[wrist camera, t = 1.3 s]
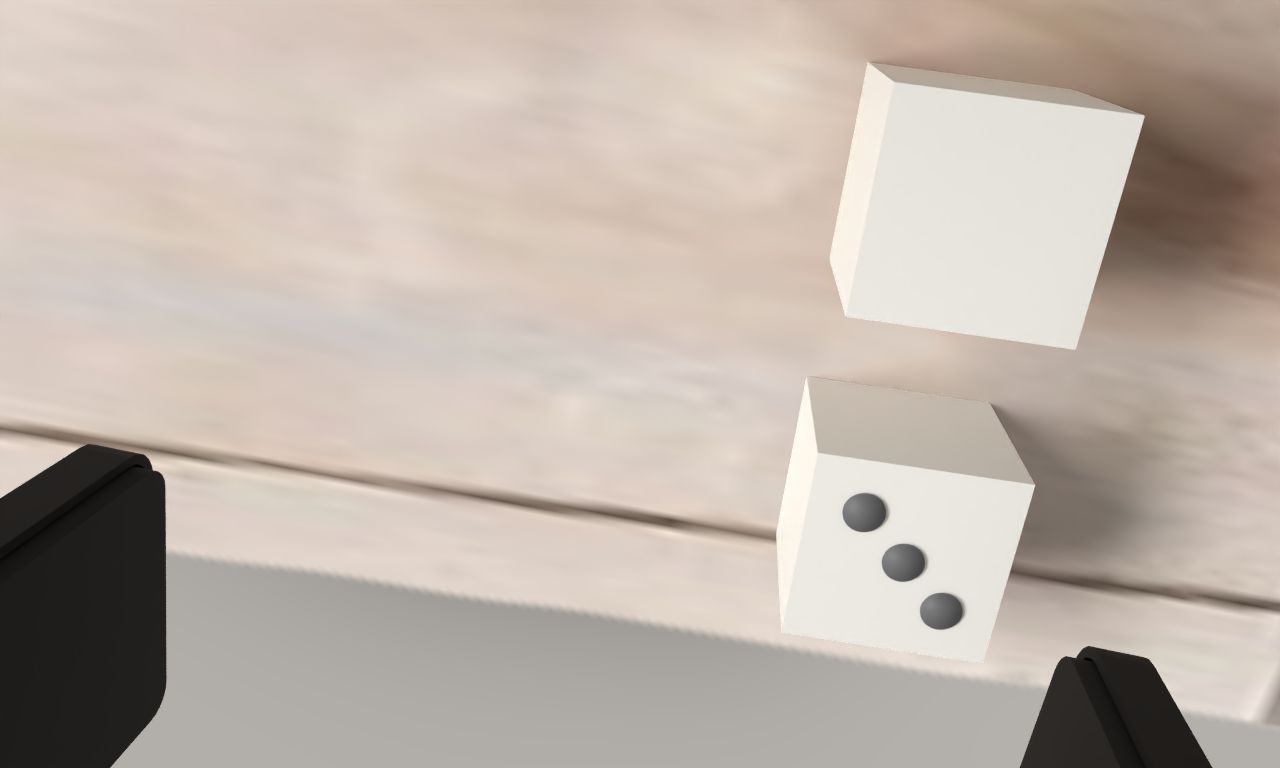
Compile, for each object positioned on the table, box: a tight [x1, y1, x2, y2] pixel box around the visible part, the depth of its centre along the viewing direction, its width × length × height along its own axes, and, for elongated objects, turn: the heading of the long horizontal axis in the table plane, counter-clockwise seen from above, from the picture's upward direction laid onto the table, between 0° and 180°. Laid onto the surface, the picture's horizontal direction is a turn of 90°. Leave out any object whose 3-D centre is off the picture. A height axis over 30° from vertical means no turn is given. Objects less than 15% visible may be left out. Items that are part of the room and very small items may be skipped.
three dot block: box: [776, 376, 1035, 664], centre depth 33 cm, size 6×6×6 cm
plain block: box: [830, 62, 1145, 350], centre depth 29 cm, size 6×6×6 cm
